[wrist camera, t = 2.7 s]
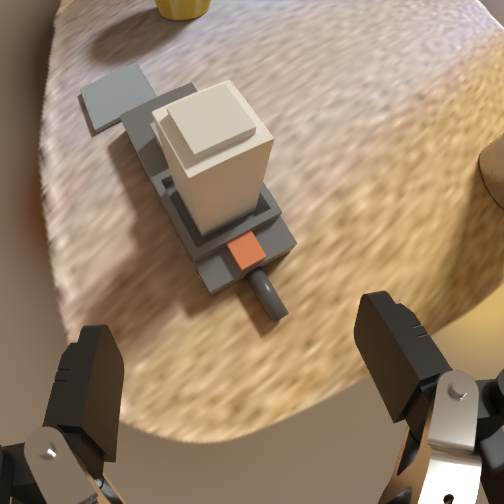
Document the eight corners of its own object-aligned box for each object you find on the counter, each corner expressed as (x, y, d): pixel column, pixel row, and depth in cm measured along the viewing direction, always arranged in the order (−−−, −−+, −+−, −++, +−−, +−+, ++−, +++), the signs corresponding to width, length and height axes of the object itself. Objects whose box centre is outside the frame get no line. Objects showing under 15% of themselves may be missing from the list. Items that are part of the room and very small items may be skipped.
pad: (137, 65, 30) (136, 61, 30) (158, 101, 29) (157, 98, 29) (81, 92, 29) (80, 89, 28) (96, 133, 28) (94, 130, 27)
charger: (226, 164, 25) (229, 72, 15) (255, 210, 25) (275, 131, 14) (176, 189, 24) (149, 104, 14) (202, 238, 24) (187, 172, 13)
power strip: (193, 98, 30) (190, 68, 25) (317, 294, 26) (334, 288, 22) (125, 130, 28) (113, 102, 24) (238, 342, 25) (240, 345, 20)
